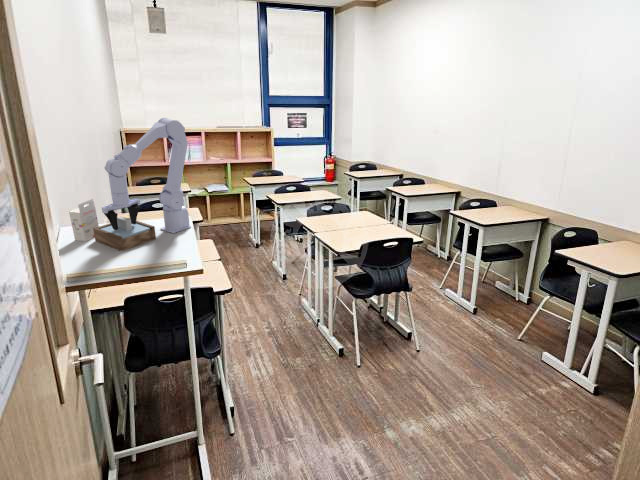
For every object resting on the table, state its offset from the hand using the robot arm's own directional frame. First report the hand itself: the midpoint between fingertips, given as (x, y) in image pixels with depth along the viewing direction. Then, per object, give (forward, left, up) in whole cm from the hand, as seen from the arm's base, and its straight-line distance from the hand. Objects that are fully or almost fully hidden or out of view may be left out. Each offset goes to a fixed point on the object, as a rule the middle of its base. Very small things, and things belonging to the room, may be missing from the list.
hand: (124, 226), depth 165 cm
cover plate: (0, 0, -2) cm, 2 cm away
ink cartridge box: (+7, -14, -6) cm, 17 cm away
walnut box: (0, 0, -6) cm, 6 cm away
